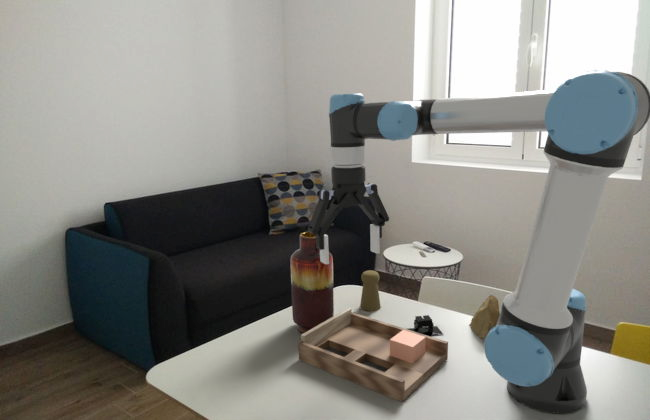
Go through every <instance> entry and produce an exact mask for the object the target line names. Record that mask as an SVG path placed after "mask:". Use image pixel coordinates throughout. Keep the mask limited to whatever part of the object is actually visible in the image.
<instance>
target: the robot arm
mask: <svg viewBox="0 0 650 420" xmlns="http://www.w3.org/2000/svg"><path fill="white" fill-rule="evenodd" d="M328 109H329V112H328V117H329V132H330V164H331V165H333V166H332V167H331V169H330V171H331V172H330V173H331V183H332V188H331V190H330V189H329V190H327V189H323V188H321V189H320V190H319V192H318V194H319V195H318V201H317V202H316V203H317V204H316V206H315V209H314V211H313V214H312V216H311V219H310V222H309V225H308V227H307V232H310V233H312V234H315V235H316V247H317V249H319V250H320V261H321V262H322V263H324V264H329V252H330V251H329V250H330V249H329V235H328V234H326V233H327V231H328V229H330V227H331V225H332V224H333V222H334V220H336V217H337V216H338V214H339V213H340V212H341V211H342V210H343V209H348V208H351V207H355V208H356V207H359V208H360V209H361V210H362V211H363V213H365V215H366V216H367V217H368V218H369V220H370V221H371V222H372V223H371V224H370V225H369V230H370V231H369V233H370V234H369V235H370V241H369V242H370V252H372V253H375V254H376V255H378V254H380V253H381V251H380V250H381V247H380V246H381V245H380V239H382V237H383V231H382V230H383V228H382V227H384V226H385V225H386V224H385V223H386V222H387V223H388V222H389V221H390V217H389V214H388V213H387V210H386V207H385V206H384V203H383V202H382V199H381V197H380V195H379V190H378V185H377V184H375V183H371V182H368V183H367V184H365V183H366V167H365V165H364V164H365V163H366V140H368V139H371V140H376V139H377V140H387V141H388V140H389V141H401V140H402V141H403V140H409V139H410V138H411V137H412V136H421V135H442V134H443V135H445V134H446V135H448V134H449V135H450V134H488V133H491V134H493V133H494V134H495V133H528V132H529V133H532V132H538V133H539V132H547V136H546V140H545V145H544V149H543V154H544V156H545V157H546V159H547V160H548V162H549V168H548V172H547V175H546V180H545V182H544V183H545V184H544V186H543V190H542V194H541V197H540V201H539V204H538V205H539V206H538V207H537V212H536V215H535V219H534V222H533V225H532V231H531V233H530V236H529V237H530V238H529V239H528V240H529V241H528V245H527V248H526V252H525V254H524V258H523V262H522V265H521V270H520V274H519V276H518V281H517V283H516V284H517V285H516V287H515V291H512V292H510V293H508V294H506V295H505V296H504V298H503V301H502V305H501V309H500V310H499V313H500V315H499V319H498V322H497V324H496V326H495V327H493V328H492V329H491V330H490V331H489V333H488V335H487V336H486V339H484V343H483V347H484V348H483V350H484V354H485V357H486V360H487V362H489V363H490V365H491V368H492V369H493V370H494V372H495V373H497V374H498V375H499V376H500V377H501V378H502V379H504V380H506V382H507V383H506V384H507V385H506V387H507V390H508V392H509V394H510V395H511V396H512V397H513V398H514V399H515V400H517V401H518V402H519V403H521V404H523V405H525V406H527V407H529V408H531V409H534V410H538V411H542V412H545V413H550V414H551V413H552V414H569V413H571V414H572V413H574V412H578V411H579V410H582V408H584V406H585V405H586V403H587V394H588V388H587V384H586V381H585V378H584V374H583V369H582V366H581V358H582V357H581V356H582V349H583V340H584V339H583V338H584V328H585V322H586V320H585V319H586V312H587V311H588V309H587V298H586V296H585V295H584V293H582V292H581V291H579V290H577V289H575V288H574V286H575V283H576V279H577V277H578V273H579V269H580V267H581V265H582V261H583V257H584V254H585V251H586V247H587V245H588V242H589V239H590V237H591V233H592V229H593V227H594V223H595V220H596V217H597V214H598V210H599V207H600V204H601V201H602V198H603V194H604V192H605V188H606V186H607V182H608V180H609V177H610V176H611V175H612V174H614V173H617V172H618V171H620V170H622V169H624V166H625V162H626V159H627V157H628V153H629V151H630V147H631V146H632V142H633V138H634V136H635V135H637V134H638V133H639V132H640V131H642V130H643V129H644V127H645V126H646V125H647V123H648V121H649V120H650V89H649V88H648V87H647V85H646V84H645V83H644V82H643V81H642V79H640V78H638V77H636V76H634V75H633V74H630V73H626V72H622V71H621V72H620V71H609V70H607V69H606V70H597V69H596V70H595V69H594V70H590V71H589V70H588V71H585V72H581V73H579V74H576V75H574V76H572V77H570V78H569V79H567V80H565V81H564V82H563V83H561V84H560V85H559V86H558V87H557V88H556V89H546V90H543V89H542V90H533V91H532V90H531V91H524V92H523V91H522V92H521V91H520V92H519V91H518V92H510V93H506V92H505V93H495V94H484V95H483V94H482V95H471V96H459V97H457V96H456V97H445V98H432V99H418V100H416V99H415V100H404V101H403V100H402V101H399V100H398V101H397V100H396V101H382V102H381V101H380V102H377V101H376V102H366V101H365V96H364V95H363V94H362V93H339V94H338V93H337V94H332V95H331V96H330V98H329V108H328ZM365 194H367V195H368V198H369V199H370V202H371V204H372V206H373V208H374V209H373V208H372V206H370V204H369V203H368V201H367V200H366V198H365V197H364V196H365ZM332 198H333V199H332ZM331 199H332V201H331V202H330V200H331ZM329 202H330V204H329ZM328 206H329V208H328ZM327 208H328V210H327ZM326 210H327V211H326ZM374 210H375V211H374Z"/></svg>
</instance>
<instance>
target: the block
mask: <svg viewBox="0 0 650 420" xmlns="http://www.w3.org/2000/svg"><path fill="white" fill-rule="evenodd" d="M425 345H426V337H424V336H421V335H418V334H415V333H411V332H408V331H405V330H402V331H401V332H400V333H398V334H397V335H395V336H394V337H393V338H391V339H390V356H393V357H396V358H399V359H401V360H404V361H407V362H410V363H414V362H415V361H416V360H417V359H418V358H420V357H421V356H422V355H423V354H424V353H425Z"/></svg>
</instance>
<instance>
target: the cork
mask: <svg viewBox="0 0 650 420" xmlns="http://www.w3.org/2000/svg"><path fill="white" fill-rule="evenodd" d="M361 282H362V290H361V295H360V296H361V297H360V305H359V308H360V310H362V311H364V312H368V313H370V312H372V313H373V312H377V311H380V310H381V308H382V307H381V301H380V300H381V299H380V293H379V282H380V275H379V272H377V271H376V270H371V269H370V270H369V269H368V270H365V271H363V272H362V273H361Z"/></svg>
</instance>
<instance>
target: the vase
mask: <svg viewBox="0 0 650 420" xmlns="http://www.w3.org/2000/svg"><path fill="white" fill-rule="evenodd" d="M333 261H334V259H333V254H332V253H331V252H330V251H329V264H324V263H322V262H321V261H320V250H319V249H317V247H316V235H315V234H312V233H310V232H308V231H305V232H301V233H300V234H299V249H296V250H295V251H294V252H293V253H292V255H291V256H290V283H291V284H290V285H291V310H292V320H293V322H294V324H296V330H297V332H298V333H300V334H301V335H302V334H303V333H305V332H307V331H309V330H310V329H312V328H314V327H316V326H318V325H319V324H321V323H323V322H325V321H326V320H328V319H330V318H332V317H333V316H335V314H334V312H335V310H334V305H335V304H334V303H335V302H334V262H333Z"/></svg>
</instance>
